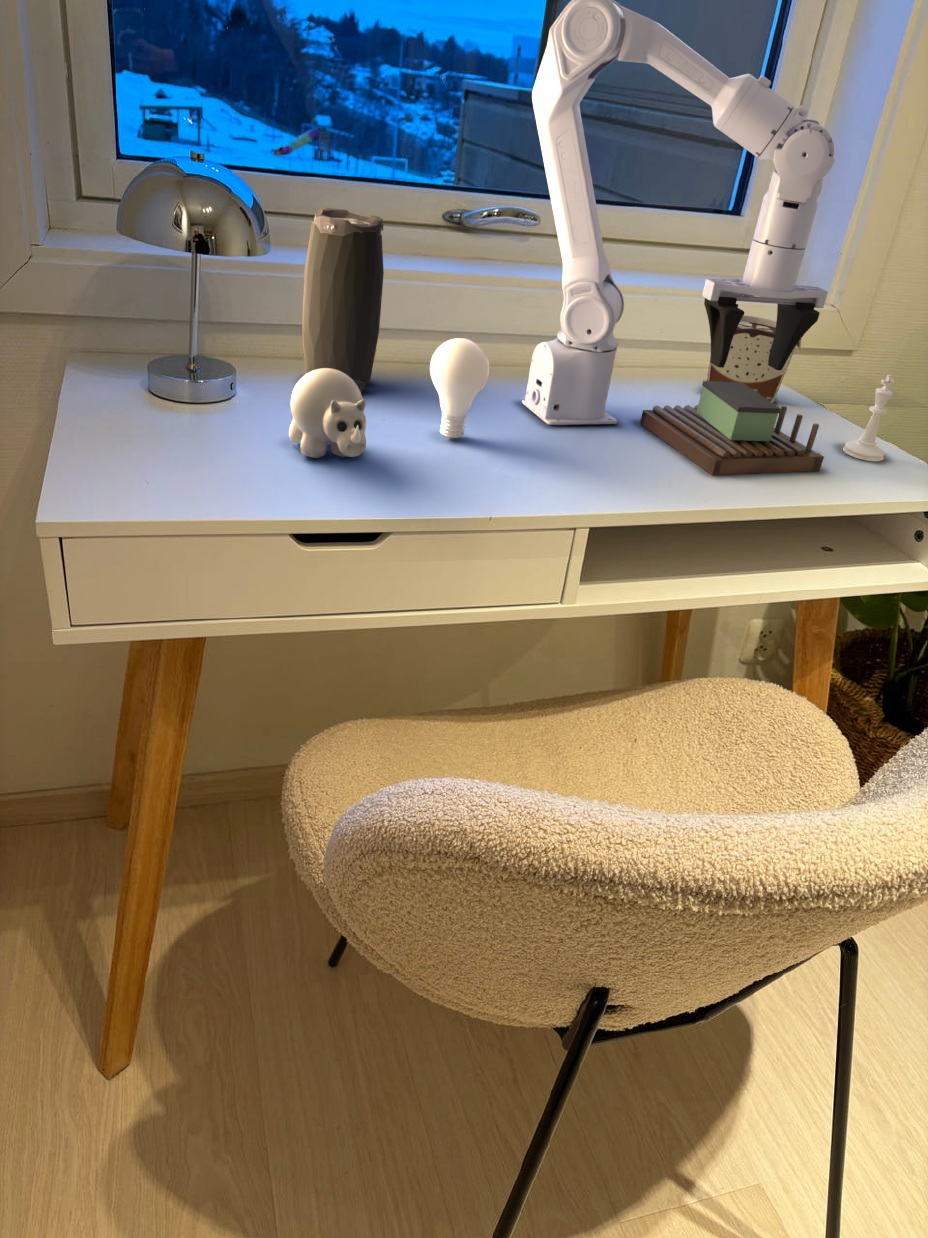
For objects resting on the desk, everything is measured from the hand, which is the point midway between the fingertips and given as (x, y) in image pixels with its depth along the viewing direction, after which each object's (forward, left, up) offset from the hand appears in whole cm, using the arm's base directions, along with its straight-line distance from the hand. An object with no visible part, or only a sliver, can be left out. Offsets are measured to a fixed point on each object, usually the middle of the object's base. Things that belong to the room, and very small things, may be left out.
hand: (745, 366), depth 117 cm
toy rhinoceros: (-49, -1, -10) cm, 50 cm away
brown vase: (-42, +22, -10) cm, 48 cm away
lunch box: (0, -1, -7) cm, 7 cm away
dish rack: (0, -1, -10) cm, 10 cm away
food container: (+15, +19, -10) cm, 26 cm away
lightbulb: (-34, +4, -10) cm, 36 cm away
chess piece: (+18, -4, -10) cm, 21 cm away
